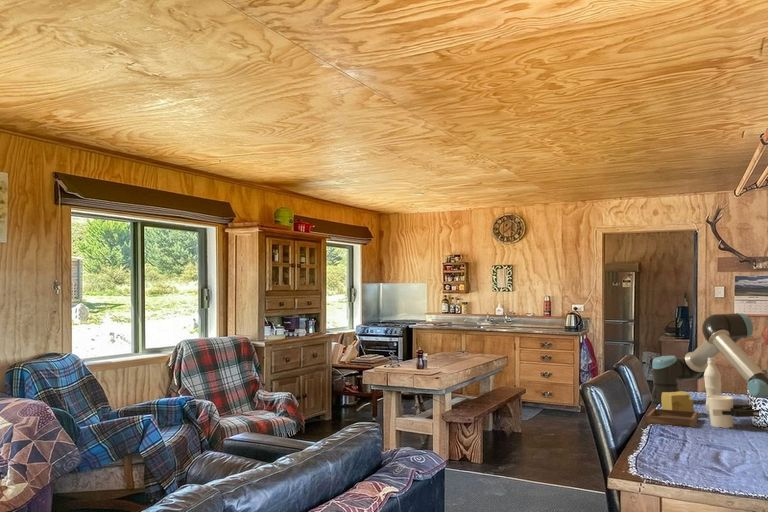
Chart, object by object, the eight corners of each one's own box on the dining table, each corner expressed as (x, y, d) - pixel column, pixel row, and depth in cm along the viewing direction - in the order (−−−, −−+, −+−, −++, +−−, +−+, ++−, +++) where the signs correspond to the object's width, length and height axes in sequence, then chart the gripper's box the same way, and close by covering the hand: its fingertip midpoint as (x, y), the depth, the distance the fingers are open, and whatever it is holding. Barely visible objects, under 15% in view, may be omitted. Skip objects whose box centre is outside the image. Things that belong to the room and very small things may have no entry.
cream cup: (739, 428, 244) (737, 399, 245) (713, 428, 246) (711, 399, 247) (730, 423, 254) (728, 395, 254) (705, 423, 255) (703, 395, 256)
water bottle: (702, 410, 283) (699, 358, 284) (712, 408, 286) (709, 356, 287) (716, 412, 276) (713, 359, 278) (726, 411, 279) (723, 358, 281)
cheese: (695, 416, 270) (693, 394, 270) (671, 417, 270) (670, 395, 271) (684, 412, 280) (682, 390, 281) (661, 412, 280) (660, 391, 281)
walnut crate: (653, 416, 273) (653, 408, 273) (698, 419, 263) (697, 411, 263) (646, 424, 257) (646, 416, 258) (693, 428, 247) (693, 419, 248)
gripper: (779, 425, 235) (718, 424, 240) (758, 414, 256) (702, 413, 261) (778, 406, 236) (716, 405, 241) (757, 397, 257) (701, 396, 262)
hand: (709, 410), depth 251 cm, fingers closed on cream cup, 9 cm apart
